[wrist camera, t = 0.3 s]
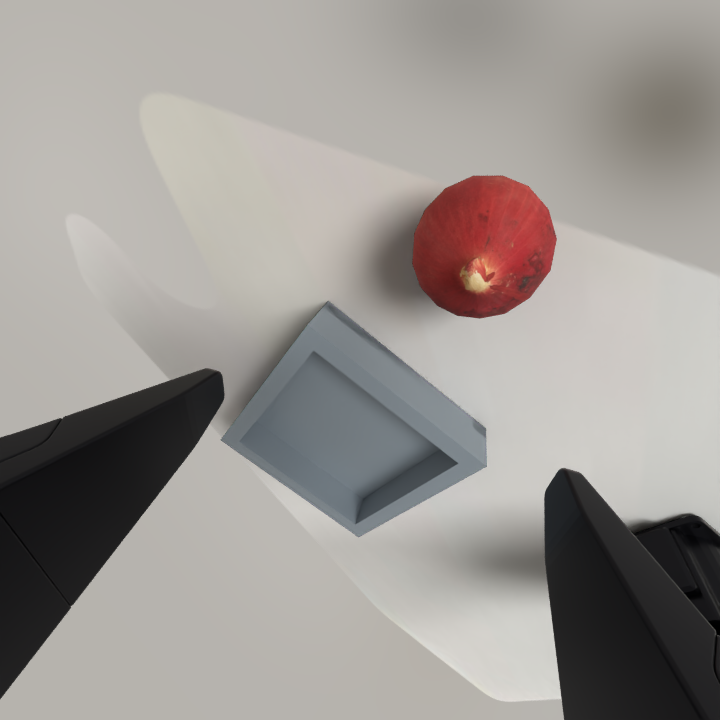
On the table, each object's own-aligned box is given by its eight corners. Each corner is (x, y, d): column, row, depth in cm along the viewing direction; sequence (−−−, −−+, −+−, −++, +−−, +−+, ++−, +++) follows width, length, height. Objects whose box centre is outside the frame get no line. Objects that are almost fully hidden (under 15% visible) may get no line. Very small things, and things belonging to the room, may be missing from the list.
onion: (567, 199, 17) (624, 241, 10) (498, 301, 20) (509, 381, 14) (455, 147, 17) (442, 158, 11) (405, 257, 20) (372, 316, 14)
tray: (485, 428, 25) (486, 466, 22) (368, 502, 33) (358, 537, 30) (328, 300, 23) (307, 324, 20) (243, 411, 31) (220, 439, 28)
